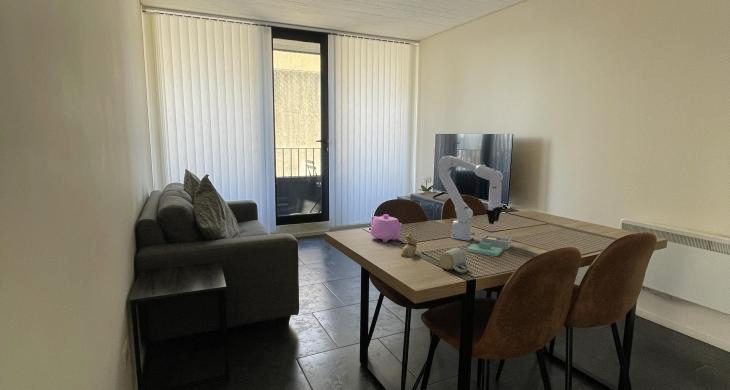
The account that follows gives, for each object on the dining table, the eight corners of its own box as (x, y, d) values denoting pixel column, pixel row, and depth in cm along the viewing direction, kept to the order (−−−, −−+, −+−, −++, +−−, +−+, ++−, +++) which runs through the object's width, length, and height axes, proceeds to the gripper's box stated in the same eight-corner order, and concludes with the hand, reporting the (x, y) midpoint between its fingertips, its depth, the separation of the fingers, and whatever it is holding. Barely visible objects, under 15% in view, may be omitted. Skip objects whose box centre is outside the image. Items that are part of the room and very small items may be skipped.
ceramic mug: (437, 267, 156) (438, 248, 155) (450, 263, 162) (451, 245, 160) (459, 275, 148) (460, 255, 147) (472, 271, 154) (473, 252, 152)
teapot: (363, 237, 200) (363, 213, 199) (380, 233, 209) (381, 210, 207) (391, 246, 186) (392, 219, 184) (408, 241, 194) (409, 216, 192)
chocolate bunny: (419, 256, 171) (420, 233, 169) (402, 256, 169) (402, 234, 168) (415, 252, 176) (416, 230, 175) (398, 253, 175) (399, 231, 173)
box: (481, 246, 189) (481, 237, 189) (486, 242, 196) (486, 234, 195) (507, 250, 183) (507, 242, 182) (511, 246, 189) (511, 238, 189)
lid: (466, 251, 180) (467, 243, 180) (473, 246, 188) (473, 238, 188) (497, 256, 173) (497, 248, 172) (502, 251, 181) (503, 243, 180)
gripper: (499, 197, 185) (497, 226, 187) (506, 194, 197) (505, 221, 199) (484, 196, 189) (483, 224, 190) (492, 193, 201) (491, 219, 202)
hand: (493, 222), depth 195 cm, fingers open, 7 cm apart
